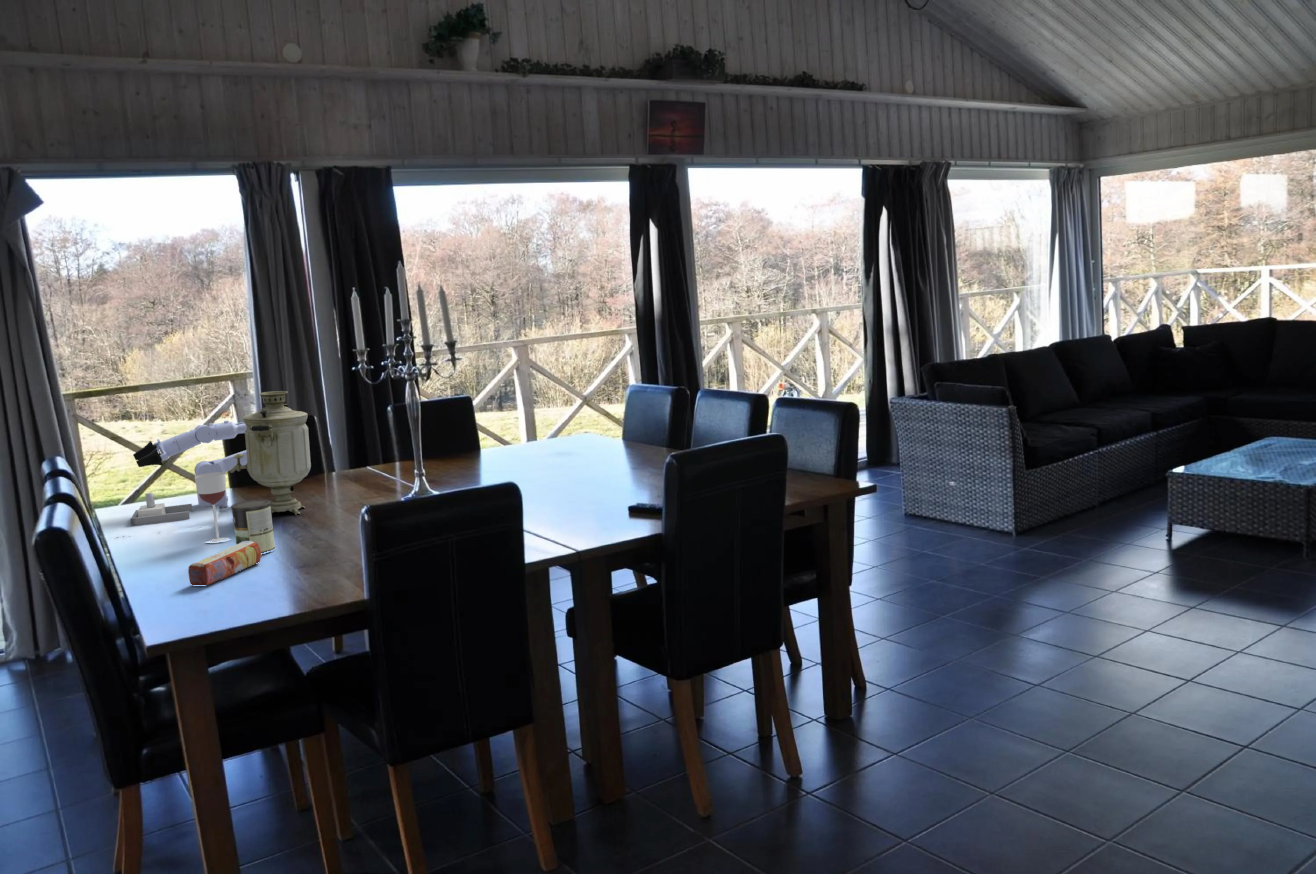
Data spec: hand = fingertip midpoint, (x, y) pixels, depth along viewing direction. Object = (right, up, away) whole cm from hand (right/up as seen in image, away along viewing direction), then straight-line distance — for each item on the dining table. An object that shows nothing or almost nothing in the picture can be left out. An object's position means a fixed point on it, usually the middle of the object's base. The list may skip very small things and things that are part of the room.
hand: (135, 460), depth 345 cm
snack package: (+61, -28, -74) cm, 100 cm away
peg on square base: (+9, -19, -7) cm, 22 cm away
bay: (+12, -20, -5) cm, 24 cm away
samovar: (+48, -17, -2) cm, 51 cm away
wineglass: (+43, -23, -36) cm, 61 cm away
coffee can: (+60, -25, -52) cm, 84 cm away
